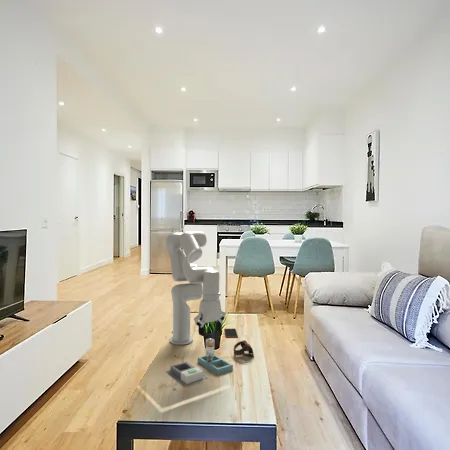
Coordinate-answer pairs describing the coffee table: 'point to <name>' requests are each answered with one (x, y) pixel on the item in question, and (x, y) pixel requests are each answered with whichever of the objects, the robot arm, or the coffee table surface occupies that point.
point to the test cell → (210, 349)
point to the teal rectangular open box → (216, 364)
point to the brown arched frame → (243, 348)
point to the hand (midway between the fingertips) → (209, 333)
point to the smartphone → (230, 333)
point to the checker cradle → (186, 373)
